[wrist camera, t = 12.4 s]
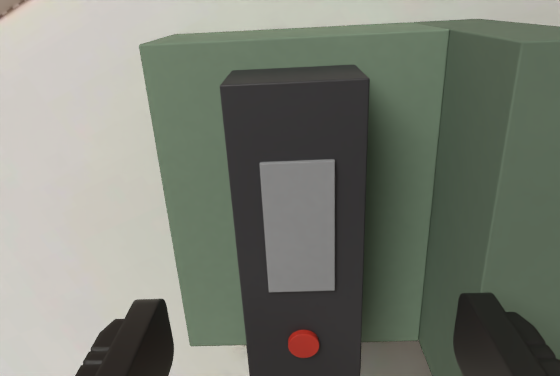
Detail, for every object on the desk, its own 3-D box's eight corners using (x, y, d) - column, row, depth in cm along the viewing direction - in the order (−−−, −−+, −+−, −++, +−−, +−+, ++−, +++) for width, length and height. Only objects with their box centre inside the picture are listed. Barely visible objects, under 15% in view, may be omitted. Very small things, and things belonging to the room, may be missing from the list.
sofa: (207, 284, 26) (161, 443, 16) (172, 34, 20) (74, 63, 11) (447, 277, 25) (538, 438, 16) (479, 18, 19) (650, 34, 10)
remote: (231, 70, 16) (217, 86, 13) (355, 63, 16) (371, 79, 13) (255, 329, 20) (249, 385, 17) (350, 327, 20) (361, 383, 17)
